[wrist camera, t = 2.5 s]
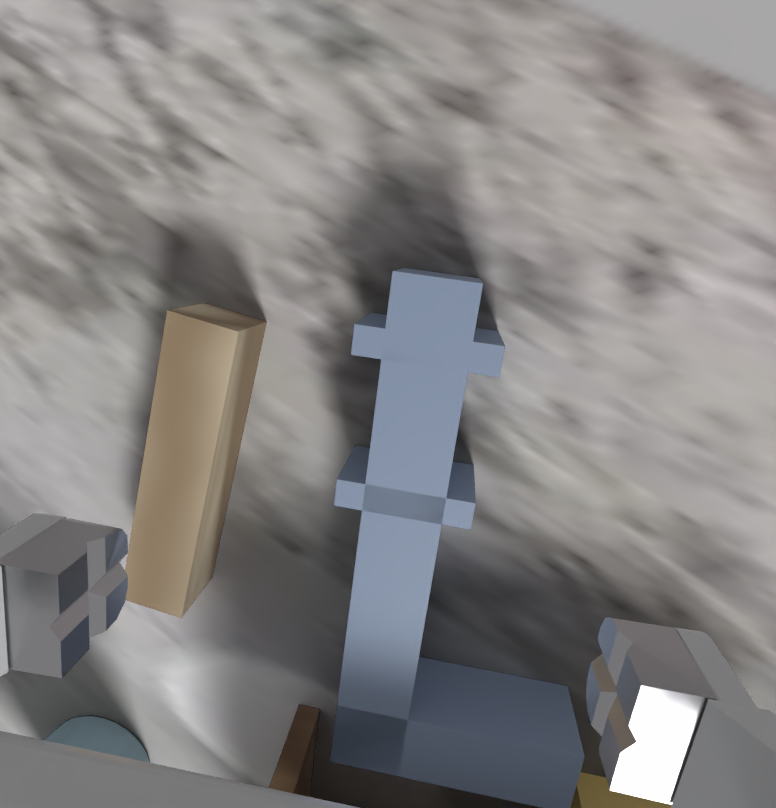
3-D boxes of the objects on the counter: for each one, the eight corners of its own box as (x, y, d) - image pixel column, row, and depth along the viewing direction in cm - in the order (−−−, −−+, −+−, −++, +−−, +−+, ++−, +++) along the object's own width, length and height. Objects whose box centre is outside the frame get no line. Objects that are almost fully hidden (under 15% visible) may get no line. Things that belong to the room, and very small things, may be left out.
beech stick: (269, 320, 22) (238, 331, 19) (214, 574, 26) (181, 618, 23) (207, 302, 22) (167, 310, 19) (160, 557, 26) (120, 598, 23)
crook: (667, 304, 20) (710, 314, 17) (554, 737, 25) (568, 813, 22) (377, 264, 21) (360, 266, 18) (326, 689, 26) (305, 756, 23)
